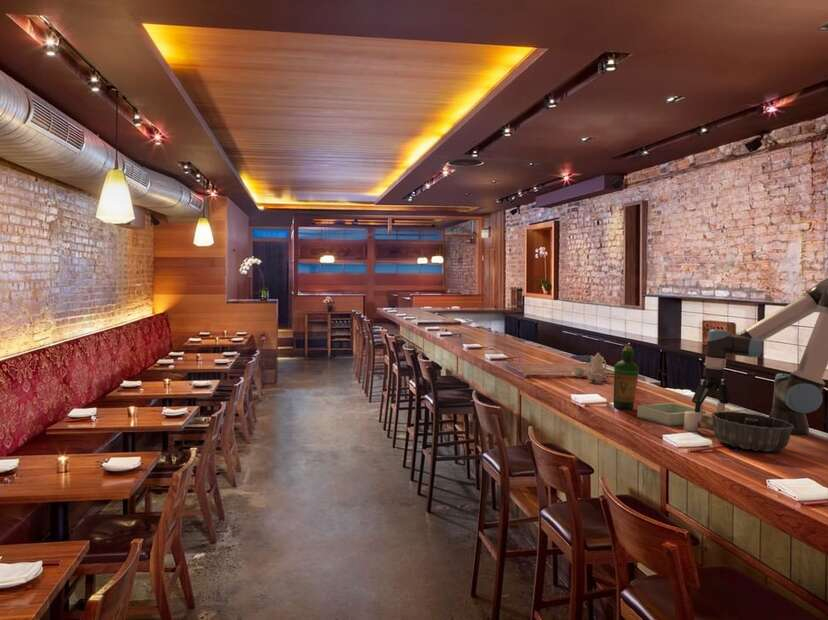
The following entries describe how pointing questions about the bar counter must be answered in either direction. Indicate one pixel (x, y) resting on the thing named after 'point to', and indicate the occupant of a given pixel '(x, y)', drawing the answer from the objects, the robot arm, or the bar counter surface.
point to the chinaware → (593, 369)
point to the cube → (707, 421)
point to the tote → (664, 413)
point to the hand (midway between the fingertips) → (708, 419)
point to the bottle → (625, 380)
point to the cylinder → (691, 421)
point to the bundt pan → (751, 431)
